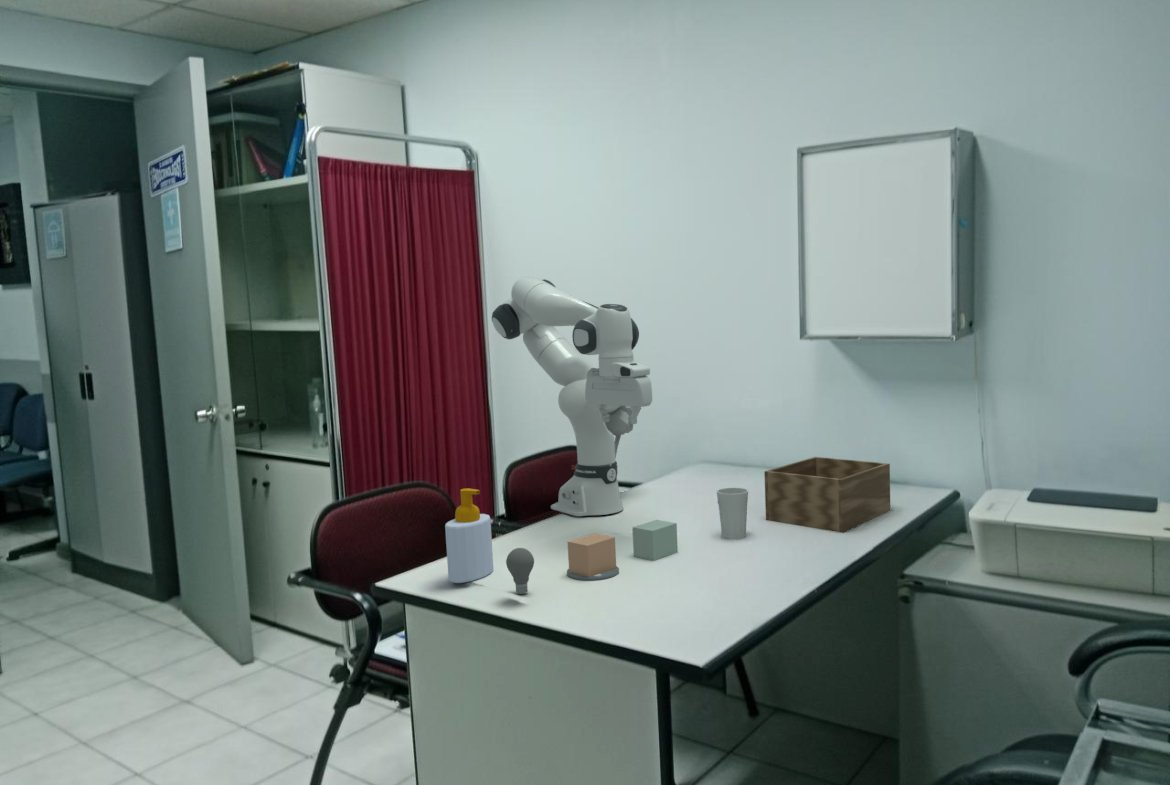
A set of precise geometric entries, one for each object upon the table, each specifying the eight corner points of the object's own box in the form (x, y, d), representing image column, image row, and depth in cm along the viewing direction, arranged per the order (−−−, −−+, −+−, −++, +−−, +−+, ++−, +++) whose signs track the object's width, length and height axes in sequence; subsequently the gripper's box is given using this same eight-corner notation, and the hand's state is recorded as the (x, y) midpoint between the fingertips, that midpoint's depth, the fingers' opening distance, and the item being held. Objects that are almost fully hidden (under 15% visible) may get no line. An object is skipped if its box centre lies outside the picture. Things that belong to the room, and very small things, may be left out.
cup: (749, 540, 232) (747, 493, 231) (717, 540, 233) (715, 494, 232) (750, 532, 240) (748, 487, 238) (719, 532, 241) (717, 487, 240)
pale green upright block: (633, 556, 223) (632, 527, 222) (657, 548, 229) (656, 519, 228) (653, 560, 218) (652, 530, 218) (677, 552, 225) (676, 523, 224)
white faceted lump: (646, 503, 285) (646, 391, 288) (633, 505, 270) (633, 386, 272) (585, 502, 290) (586, 392, 293) (570, 504, 275) (571, 388, 278)
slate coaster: (556, 574, 211) (555, 572, 211) (592, 562, 219) (592, 559, 219) (593, 583, 203) (593, 581, 203) (629, 570, 211) (629, 568, 211)
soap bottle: (466, 585, 206) (461, 496, 204) (439, 581, 210) (433, 494, 208) (502, 569, 217) (497, 485, 215) (475, 565, 221) (470, 483, 220)
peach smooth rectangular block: (569, 572, 210) (567, 541, 209) (596, 563, 216) (594, 533, 216) (589, 577, 206) (587, 545, 205) (616, 567, 212) (614, 537, 211)
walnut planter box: (765, 522, 250) (764, 471, 248) (815, 504, 268) (814, 456, 267) (842, 534, 233) (841, 480, 232) (890, 514, 252) (889, 463, 250)
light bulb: (508, 590, 201) (505, 545, 200) (535, 588, 202) (532, 543, 201) (508, 599, 195) (505, 553, 194) (536, 596, 196) (533, 551, 195)
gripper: (578, 368, 237) (580, 421, 238) (638, 370, 223) (640, 426, 224) (595, 366, 241) (597, 418, 243) (655, 368, 227) (657, 423, 229)
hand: (618, 422), depth 233 cm, fingers open, 8 cm apart
